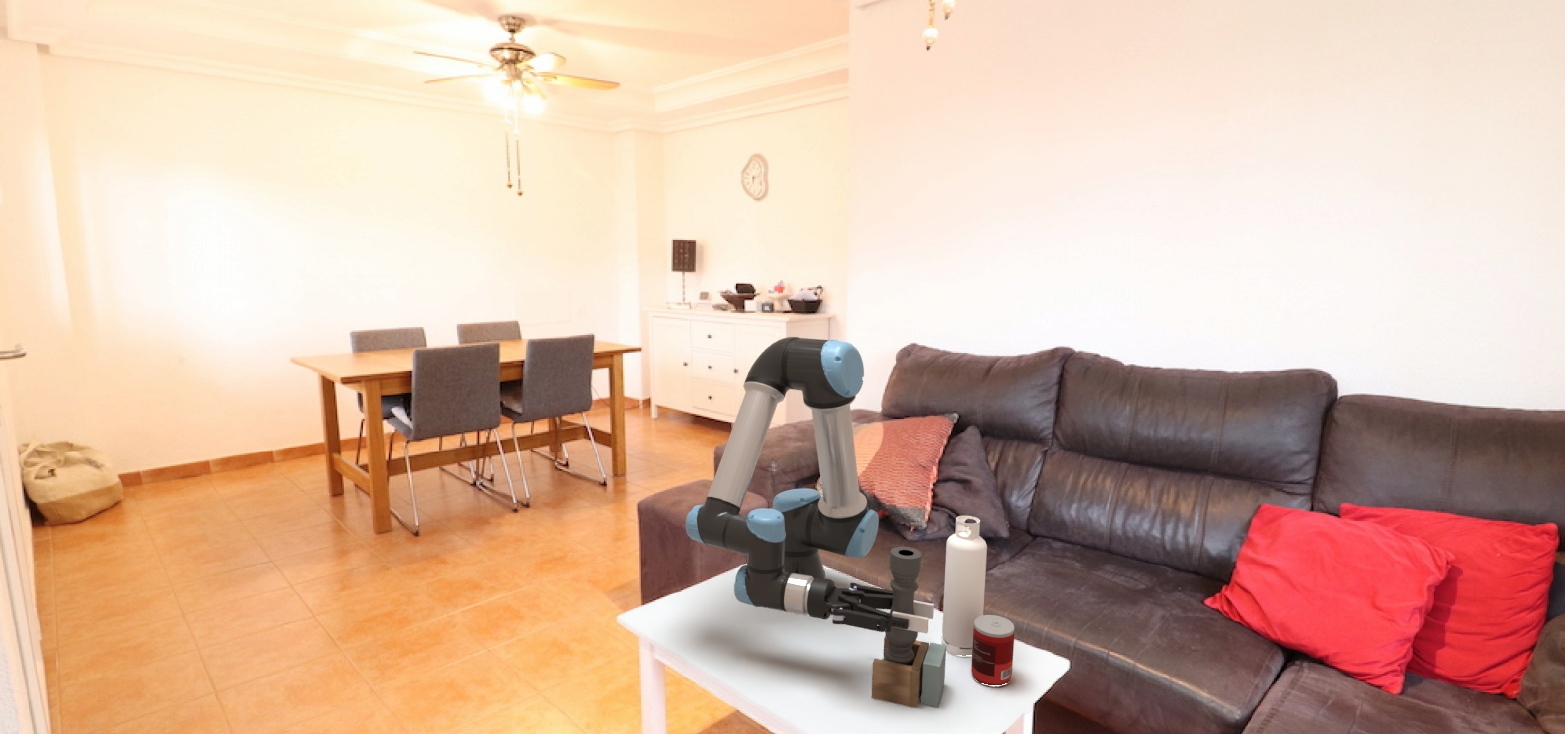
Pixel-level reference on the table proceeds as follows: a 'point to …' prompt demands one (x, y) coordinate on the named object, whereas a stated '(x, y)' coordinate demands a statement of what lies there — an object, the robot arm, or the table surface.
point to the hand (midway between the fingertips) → (930, 618)
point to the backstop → (933, 675)
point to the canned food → (992, 649)
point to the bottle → (963, 586)
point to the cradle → (899, 677)
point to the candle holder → (903, 602)
